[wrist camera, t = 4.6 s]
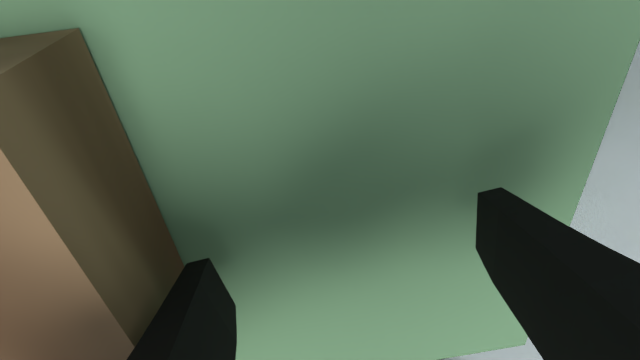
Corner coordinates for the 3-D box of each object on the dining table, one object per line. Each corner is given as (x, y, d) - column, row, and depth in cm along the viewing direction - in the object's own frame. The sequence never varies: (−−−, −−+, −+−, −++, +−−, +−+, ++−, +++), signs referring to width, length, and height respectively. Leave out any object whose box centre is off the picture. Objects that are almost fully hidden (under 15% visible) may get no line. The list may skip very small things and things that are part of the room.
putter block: (78, 28, 8) (-37, 95, 5) (224, 357, 14) (214, 465, 12) (-131, 54, 7) (-383, 142, 5) (118, 374, 14) (81, 489, 11)
